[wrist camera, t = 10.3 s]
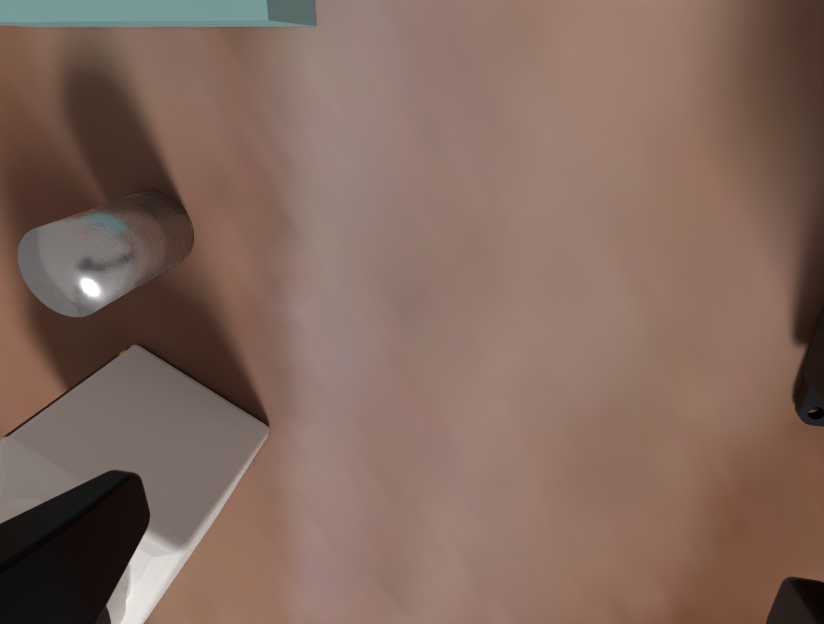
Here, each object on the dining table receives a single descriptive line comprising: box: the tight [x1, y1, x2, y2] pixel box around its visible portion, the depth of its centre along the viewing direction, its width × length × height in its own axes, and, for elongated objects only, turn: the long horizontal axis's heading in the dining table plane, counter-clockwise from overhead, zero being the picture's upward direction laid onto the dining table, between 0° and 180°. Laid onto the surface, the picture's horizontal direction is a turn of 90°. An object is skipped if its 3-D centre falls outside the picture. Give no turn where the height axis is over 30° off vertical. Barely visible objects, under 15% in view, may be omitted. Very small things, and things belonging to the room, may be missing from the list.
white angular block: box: [0, 345, 269, 624], centre depth 21 cm, size 7×7×12 cm
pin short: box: [18, 190, 194, 317], centre depth 19 cm, size 3×3×5 cm
